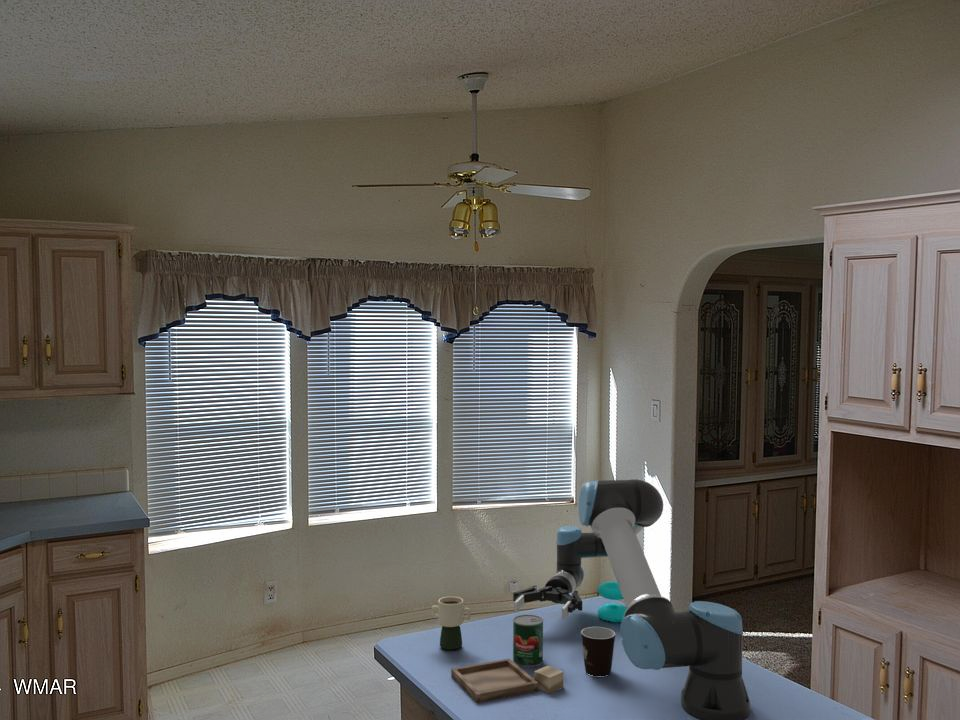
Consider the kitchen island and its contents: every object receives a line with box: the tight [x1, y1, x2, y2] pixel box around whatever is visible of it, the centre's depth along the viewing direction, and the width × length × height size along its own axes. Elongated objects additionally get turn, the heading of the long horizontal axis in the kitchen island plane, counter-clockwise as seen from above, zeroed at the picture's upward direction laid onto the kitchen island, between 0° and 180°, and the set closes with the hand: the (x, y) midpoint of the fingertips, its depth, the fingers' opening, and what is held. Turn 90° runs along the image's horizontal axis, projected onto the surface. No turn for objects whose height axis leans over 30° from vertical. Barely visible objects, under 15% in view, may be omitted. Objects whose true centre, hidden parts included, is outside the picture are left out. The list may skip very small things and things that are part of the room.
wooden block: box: [533, 665, 565, 694], centre depth 194 cm, size 5×5×4 cm
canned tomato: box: [512, 614, 544, 668], centre depth 209 cm, size 8×8×11 cm
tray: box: [450, 658, 539, 704], centre depth 196 cm, size 16×16×2 cm
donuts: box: [597, 581, 627, 623], centre depth 242 cm, size 10×10×10 cm
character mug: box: [431, 595, 471, 650], centre depth 219 cm, size 11×7×13 cm, turn 78°
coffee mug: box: [580, 626, 616, 677], centre depth 204 cm, size 12×9×10 cm
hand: (539, 610), depth 218 cm, fingers open, 13 cm apart
